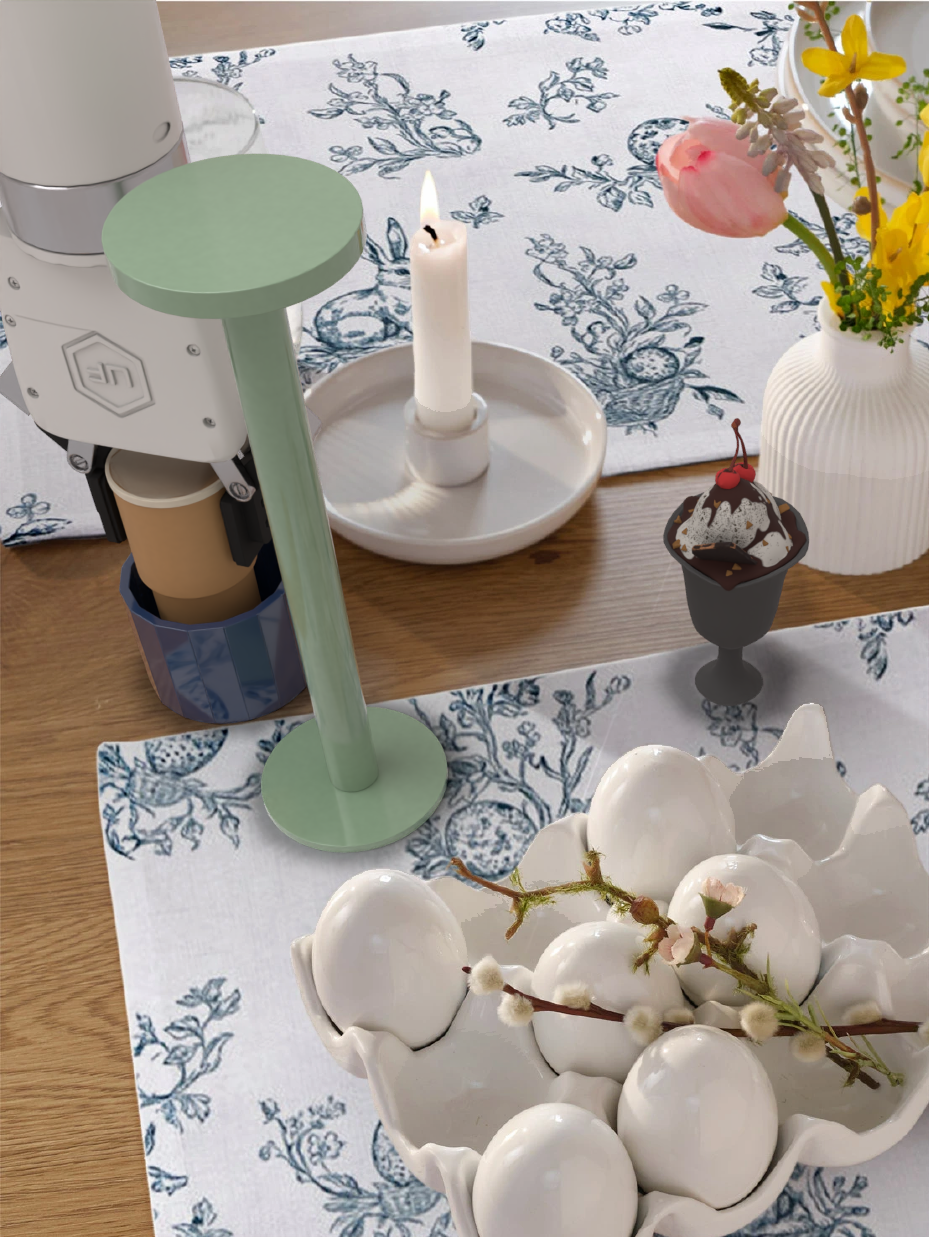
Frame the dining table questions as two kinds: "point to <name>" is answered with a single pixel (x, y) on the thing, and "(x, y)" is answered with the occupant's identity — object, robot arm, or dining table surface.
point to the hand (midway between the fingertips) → (191, 533)
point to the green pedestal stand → (284, 461)
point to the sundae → (734, 570)
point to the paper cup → (180, 537)
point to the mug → (219, 651)
